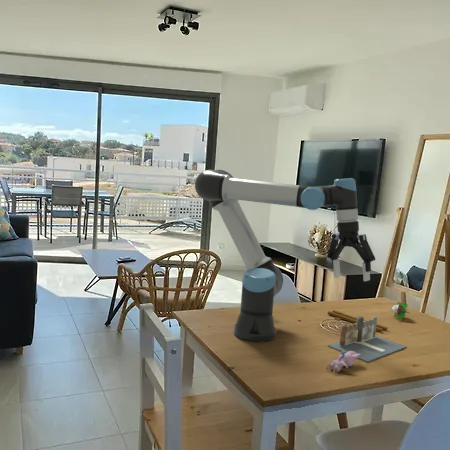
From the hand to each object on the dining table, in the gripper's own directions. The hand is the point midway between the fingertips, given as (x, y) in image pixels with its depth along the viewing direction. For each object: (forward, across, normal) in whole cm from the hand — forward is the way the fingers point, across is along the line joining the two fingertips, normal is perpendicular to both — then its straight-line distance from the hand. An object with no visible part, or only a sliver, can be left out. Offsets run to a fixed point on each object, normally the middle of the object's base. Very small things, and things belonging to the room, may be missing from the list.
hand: (351, 278), depth 172 cm
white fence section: (+23, -2, -3) cm, 23 cm away
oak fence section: (+21, -3, +8) cm, 23 cm away
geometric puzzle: (+26, +10, -41) cm, 49 cm away
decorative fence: (+24, +14, -17) cm, 32 cm away
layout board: (+24, -7, +2) cm, 25 cm away
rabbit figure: (+23, -15, +24) cm, 36 cm away
